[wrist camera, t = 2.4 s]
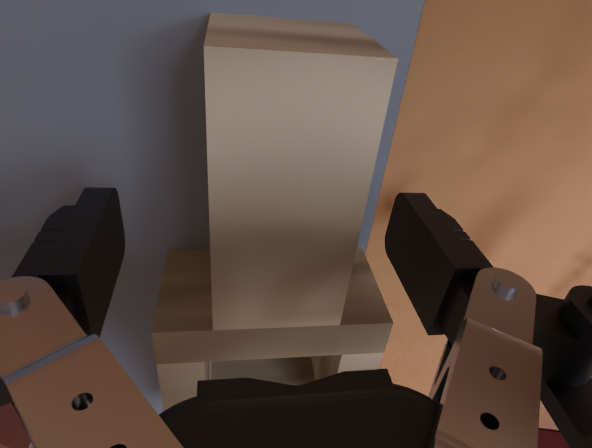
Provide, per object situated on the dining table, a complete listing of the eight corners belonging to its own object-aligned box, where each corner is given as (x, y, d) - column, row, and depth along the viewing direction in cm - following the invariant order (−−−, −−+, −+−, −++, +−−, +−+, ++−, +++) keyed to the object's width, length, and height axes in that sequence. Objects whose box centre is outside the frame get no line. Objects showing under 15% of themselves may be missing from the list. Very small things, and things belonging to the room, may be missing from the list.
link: (141, 6, 11) (105, 39, 8) (411, 27, 12) (477, 63, 9) (180, 374, 20) (171, 460, 17) (335, 365, 21) (354, 444, 18)
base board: (423, -54, 12) (437, -53, 11) (312, 449, 28) (315, 464, 27) (-294, -134, 9) (-343, -139, 9) (35, 473, 25) (28, 491, 24)
